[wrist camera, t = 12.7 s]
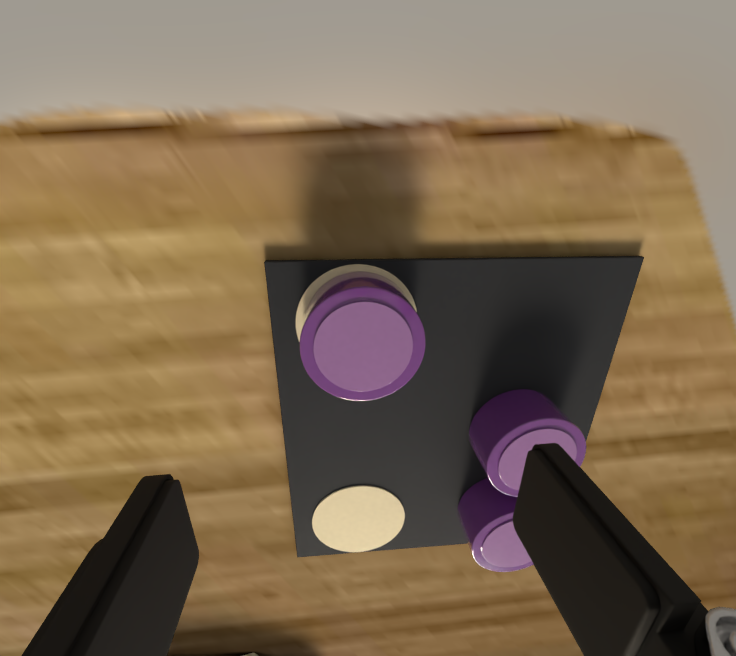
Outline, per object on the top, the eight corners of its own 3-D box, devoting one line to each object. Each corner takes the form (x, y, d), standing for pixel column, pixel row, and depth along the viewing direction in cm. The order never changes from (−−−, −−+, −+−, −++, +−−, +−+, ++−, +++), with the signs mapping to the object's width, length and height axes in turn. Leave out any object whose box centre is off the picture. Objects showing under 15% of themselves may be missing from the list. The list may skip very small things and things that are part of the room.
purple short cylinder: (308, 373, 21) (303, 405, 18) (300, 271, 19) (293, 288, 16) (410, 369, 22) (422, 400, 19) (416, 270, 19) (431, 286, 16)
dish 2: (463, 464, 25) (481, 502, 22) (474, 390, 23) (495, 422, 20) (546, 459, 26) (574, 495, 23) (565, 386, 23) (599, 416, 20)
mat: (297, 552, 28) (297, 558, 28) (265, 260, 19) (263, 262, 18) (553, 532, 30) (556, 537, 29) (639, 255, 21) (646, 257, 20)
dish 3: (453, 535, 28) (467, 577, 25) (461, 476, 26) (478, 515, 23) (527, 529, 29) (550, 569, 26) (542, 471, 26) (569, 508, 23)
